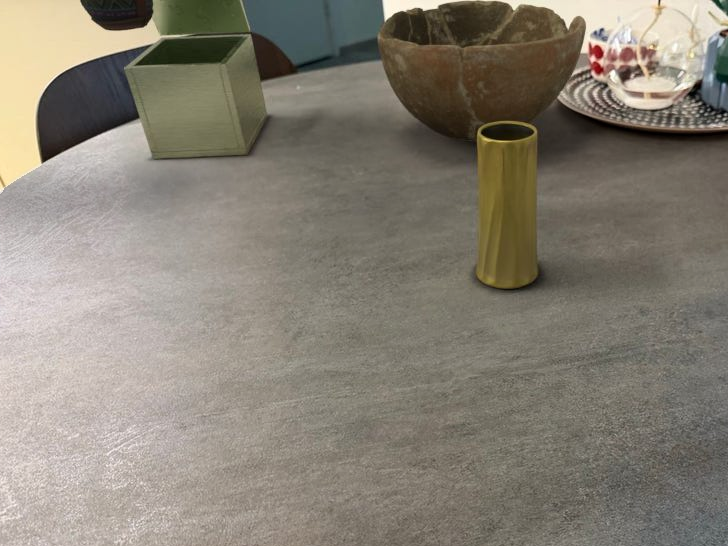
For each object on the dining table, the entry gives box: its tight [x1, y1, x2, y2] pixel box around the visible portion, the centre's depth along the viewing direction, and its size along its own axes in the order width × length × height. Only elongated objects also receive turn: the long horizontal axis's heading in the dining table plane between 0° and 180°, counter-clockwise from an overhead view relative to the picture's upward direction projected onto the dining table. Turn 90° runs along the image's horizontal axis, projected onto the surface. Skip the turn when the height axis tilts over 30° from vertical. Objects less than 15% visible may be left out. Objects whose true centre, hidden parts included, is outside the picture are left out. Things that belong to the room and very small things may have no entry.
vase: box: [475, 121, 539, 290], centre depth 65 cm, size 6×6×14 cm
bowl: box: [376, 0, 587, 142], centre depth 96 cm, size 28×27×15 cm
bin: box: [123, 33, 269, 160], centre depth 98 cm, size 16×13×12 cm
